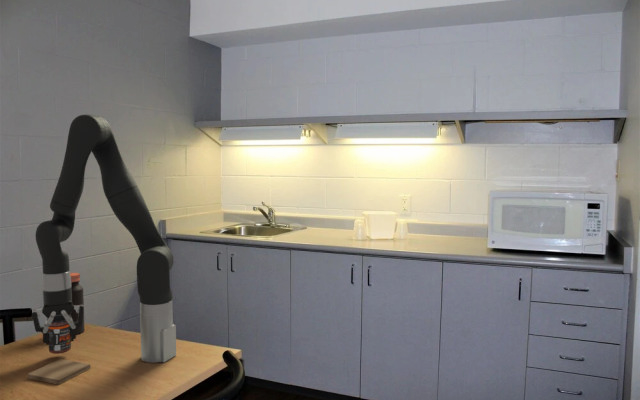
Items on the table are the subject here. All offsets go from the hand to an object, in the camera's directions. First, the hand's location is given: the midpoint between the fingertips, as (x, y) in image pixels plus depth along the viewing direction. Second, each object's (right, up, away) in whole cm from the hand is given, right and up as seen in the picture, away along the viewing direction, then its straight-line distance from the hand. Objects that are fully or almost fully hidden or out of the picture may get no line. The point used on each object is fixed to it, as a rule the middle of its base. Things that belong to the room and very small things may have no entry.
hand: (60, 342), depth 154 cm
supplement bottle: (0, -3, 0) cm, 3 cm away
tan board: (+5, -6, -11) cm, 13 cm away
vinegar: (-6, -3, +22) cm, 23 cm away
